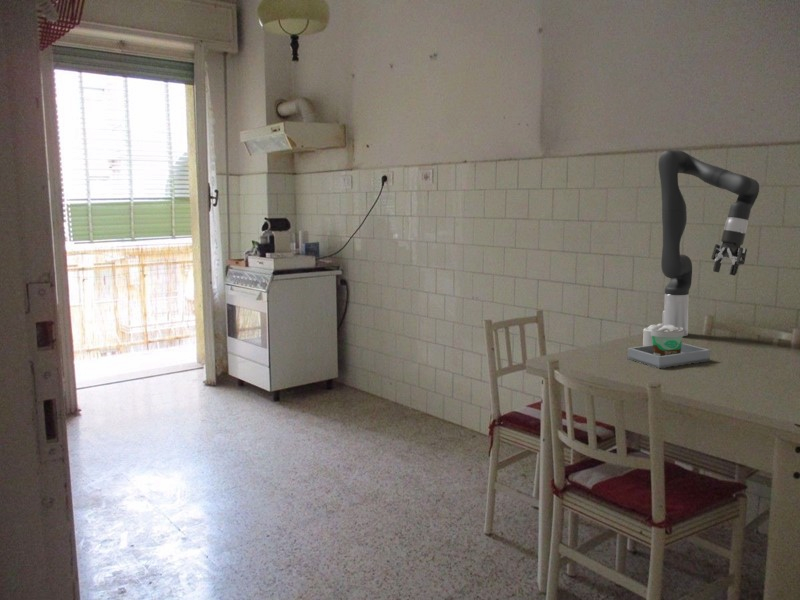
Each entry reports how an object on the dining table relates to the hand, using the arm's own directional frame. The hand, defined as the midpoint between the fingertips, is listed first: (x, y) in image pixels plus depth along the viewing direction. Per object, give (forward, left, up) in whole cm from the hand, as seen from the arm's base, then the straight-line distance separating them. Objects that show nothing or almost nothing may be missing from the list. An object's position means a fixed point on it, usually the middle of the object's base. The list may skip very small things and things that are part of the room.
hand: (724, 273), depth 251 cm
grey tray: (+8, -33, -28) cm, 43 cm away
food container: (+8, -32, -27) cm, 43 cm away
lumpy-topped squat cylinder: (-9, -21, -28) cm, 36 cm away
